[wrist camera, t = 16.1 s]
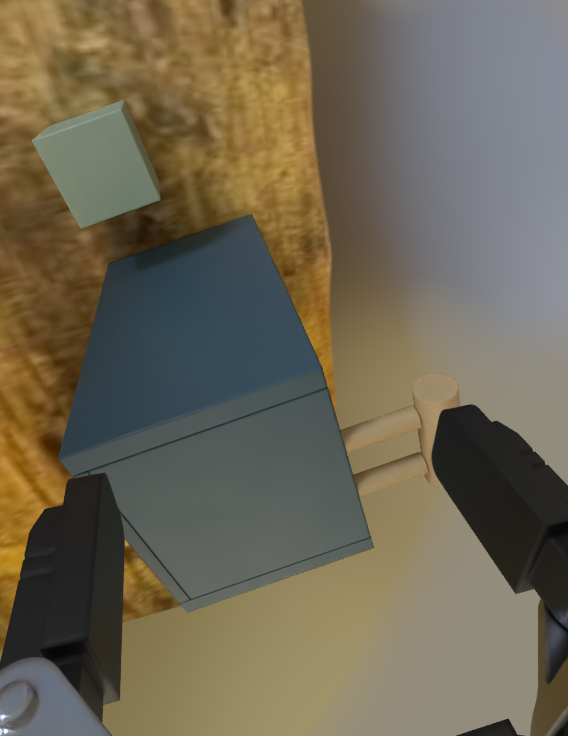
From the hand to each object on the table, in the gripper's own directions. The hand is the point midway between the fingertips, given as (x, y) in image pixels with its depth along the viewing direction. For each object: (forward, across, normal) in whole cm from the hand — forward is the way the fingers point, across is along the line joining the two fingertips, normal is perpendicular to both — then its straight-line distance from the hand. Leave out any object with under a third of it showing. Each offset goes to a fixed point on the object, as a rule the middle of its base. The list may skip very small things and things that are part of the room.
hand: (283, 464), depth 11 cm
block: (+24, +5, -3) cm, 25 cm away
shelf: (+15, +5, +10) cm, 18 cm away
